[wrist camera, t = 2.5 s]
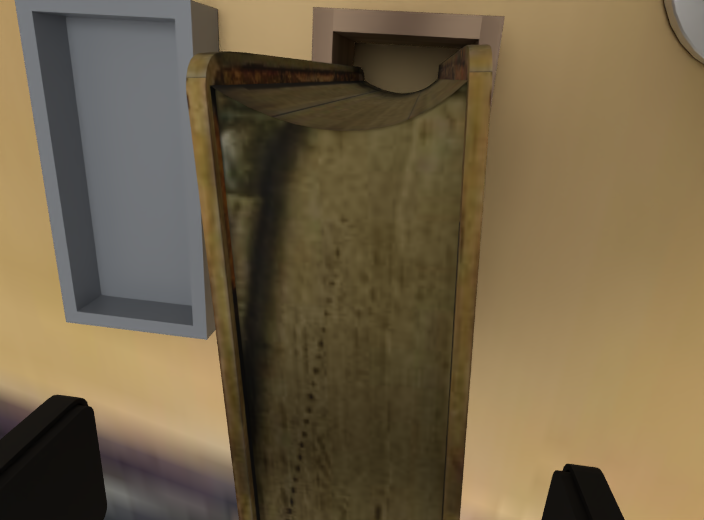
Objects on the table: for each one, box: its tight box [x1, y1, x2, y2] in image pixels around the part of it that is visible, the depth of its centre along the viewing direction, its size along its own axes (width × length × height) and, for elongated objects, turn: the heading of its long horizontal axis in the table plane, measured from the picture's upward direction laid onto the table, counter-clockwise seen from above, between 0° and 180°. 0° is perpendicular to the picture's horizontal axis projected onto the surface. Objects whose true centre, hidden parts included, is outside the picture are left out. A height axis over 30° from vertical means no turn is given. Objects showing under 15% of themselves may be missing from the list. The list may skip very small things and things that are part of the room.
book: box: [186, 44, 493, 520], centre depth 23 cm, size 16×6×25 cm, turn 1°
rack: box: [312, 7, 505, 110], centre depth 31 cm, size 9×21×8 cm, turn 176°
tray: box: [15, 0, 219, 340], centre depth 35 cm, size 11×22×4 cm, turn 176°
